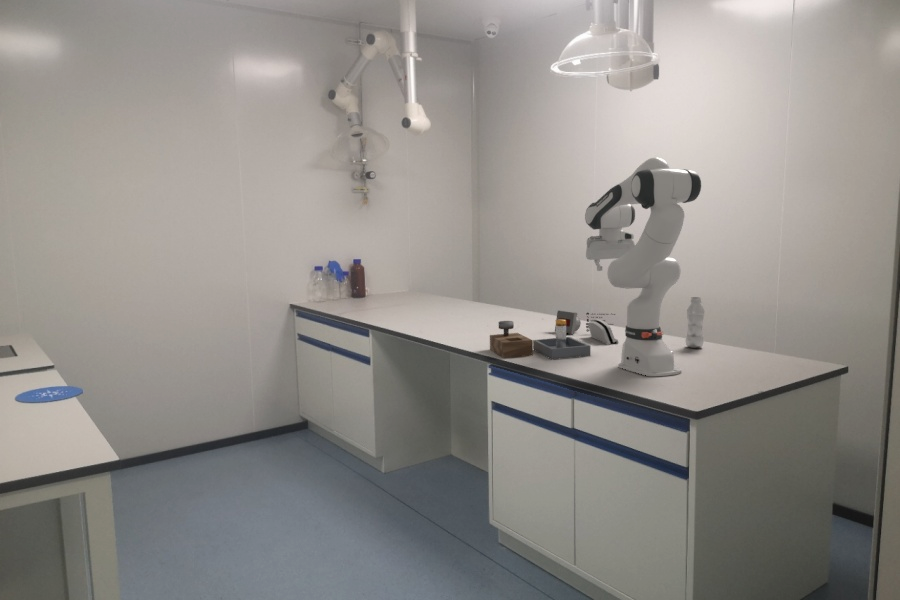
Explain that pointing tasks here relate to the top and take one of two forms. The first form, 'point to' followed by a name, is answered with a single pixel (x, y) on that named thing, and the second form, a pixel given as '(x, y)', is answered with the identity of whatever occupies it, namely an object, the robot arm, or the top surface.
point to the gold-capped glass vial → (560, 333)
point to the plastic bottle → (695, 323)
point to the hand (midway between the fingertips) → (610, 270)
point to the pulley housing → (510, 342)
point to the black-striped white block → (601, 331)
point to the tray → (571, 349)
